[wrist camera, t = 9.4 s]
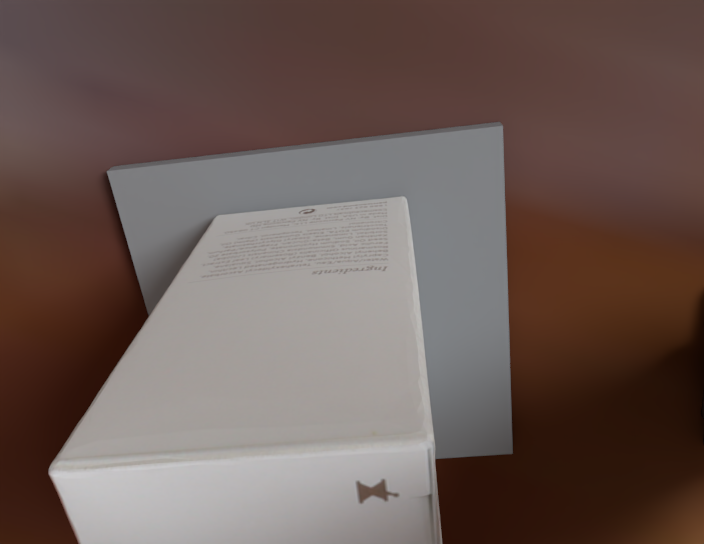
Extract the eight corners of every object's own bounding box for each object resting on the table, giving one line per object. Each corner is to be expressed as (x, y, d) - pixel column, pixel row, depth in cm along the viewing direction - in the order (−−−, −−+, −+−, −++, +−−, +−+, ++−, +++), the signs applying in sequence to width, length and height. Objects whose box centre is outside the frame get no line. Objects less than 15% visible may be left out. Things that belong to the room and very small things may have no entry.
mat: (499, 121, 18) (502, 125, 17) (510, 443, 22) (512, 453, 22) (113, 166, 19) (106, 171, 18) (198, 464, 23) (194, 474, 23)
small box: (215, 209, 18) (29, 459, 9) (410, 190, 18) (437, 433, 8) (264, 434, 22) (166, 794, 12) (430, 423, 21) (466, 790, 12)
